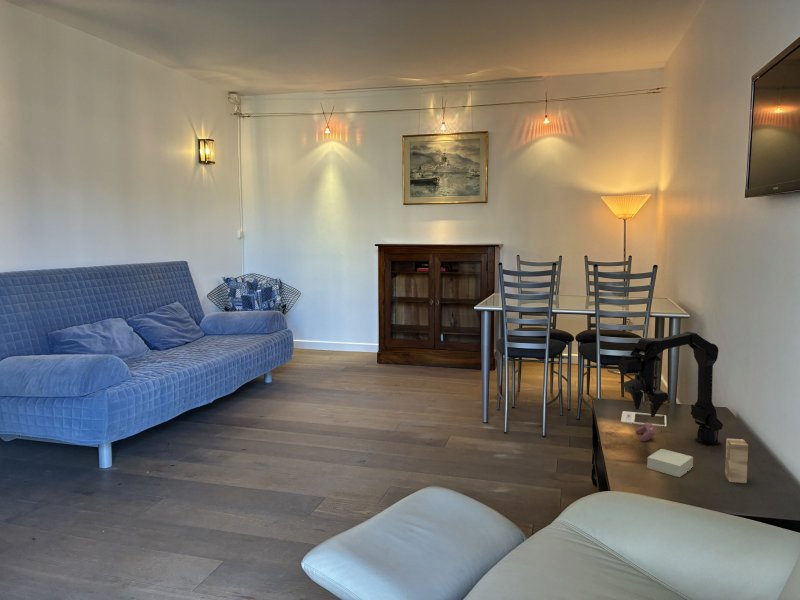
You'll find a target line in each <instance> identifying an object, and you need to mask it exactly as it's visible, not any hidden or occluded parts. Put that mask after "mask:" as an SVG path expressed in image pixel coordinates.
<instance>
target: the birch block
mask: <svg viewBox="0 0 800 600" xmlns="http://www.w3.org/2000/svg"><path fill="white" fill-rule="evenodd" d="M725 442H726V443H725V463H724V464H725V465H724V476H725V478H726V479H727V481H728V482H730V483H739V484H740V483H741V484H747V482H748V457H749V456H748V455H749V444H748V443H747V442H746V441H745V439H741V438H740V439H739V438H726V441H725Z"/></svg>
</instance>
